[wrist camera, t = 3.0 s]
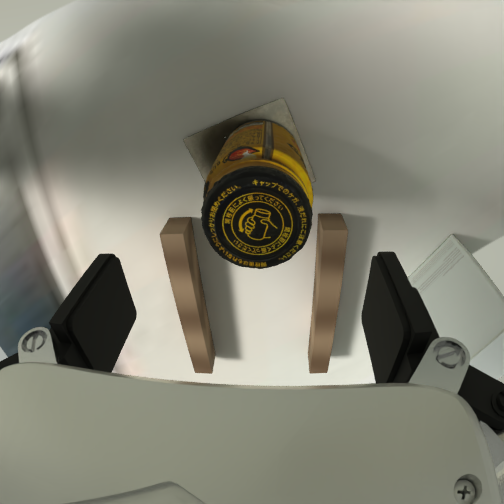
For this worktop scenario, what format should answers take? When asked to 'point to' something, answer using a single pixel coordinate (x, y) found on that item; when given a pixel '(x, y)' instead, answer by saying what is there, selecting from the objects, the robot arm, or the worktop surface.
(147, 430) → the robot arm
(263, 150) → the yellow and black cylinder
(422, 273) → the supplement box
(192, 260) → the channel
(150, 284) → the worktop surface
